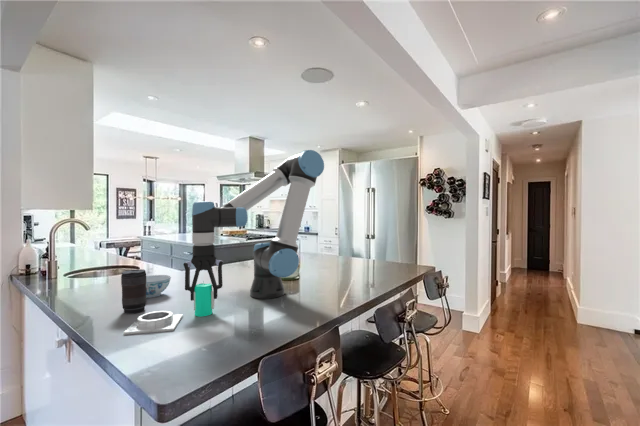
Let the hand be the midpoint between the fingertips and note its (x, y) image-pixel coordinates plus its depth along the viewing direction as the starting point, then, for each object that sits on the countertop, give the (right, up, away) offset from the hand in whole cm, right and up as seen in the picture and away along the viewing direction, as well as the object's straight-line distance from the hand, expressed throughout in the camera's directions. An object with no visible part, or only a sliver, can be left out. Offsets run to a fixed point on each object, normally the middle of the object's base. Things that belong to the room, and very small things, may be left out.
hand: (204, 308), depth 114 cm
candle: (0, -2, 0) cm, 2 cm away
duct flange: (-12, -2, -11) cm, 16 cm away
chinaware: (-33, -2, +26) cm, 42 cm away
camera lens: (-28, -2, +4) cm, 28 cm away
